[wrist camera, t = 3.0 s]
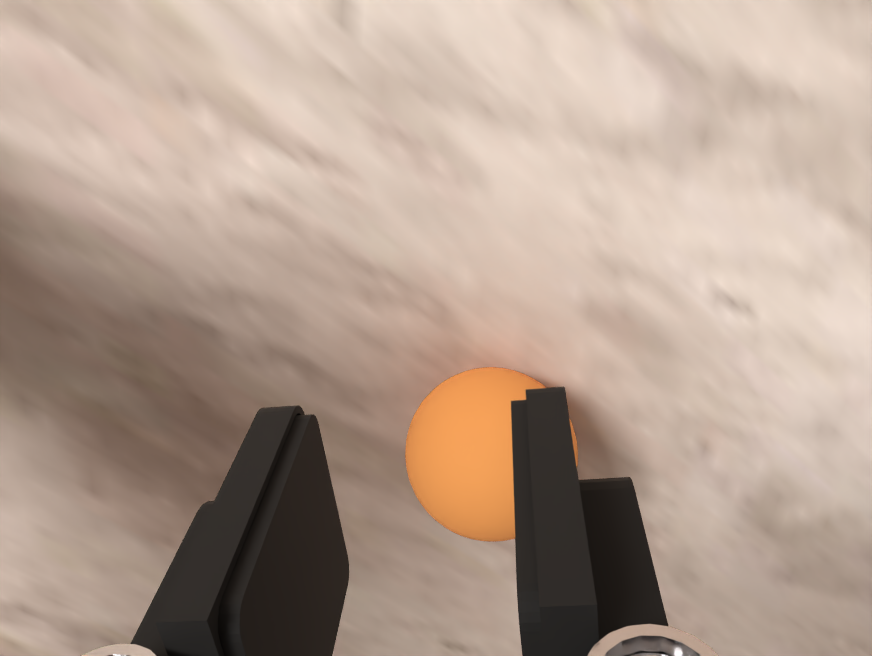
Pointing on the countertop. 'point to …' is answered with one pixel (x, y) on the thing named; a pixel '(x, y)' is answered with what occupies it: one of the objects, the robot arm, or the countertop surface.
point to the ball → (469, 452)
